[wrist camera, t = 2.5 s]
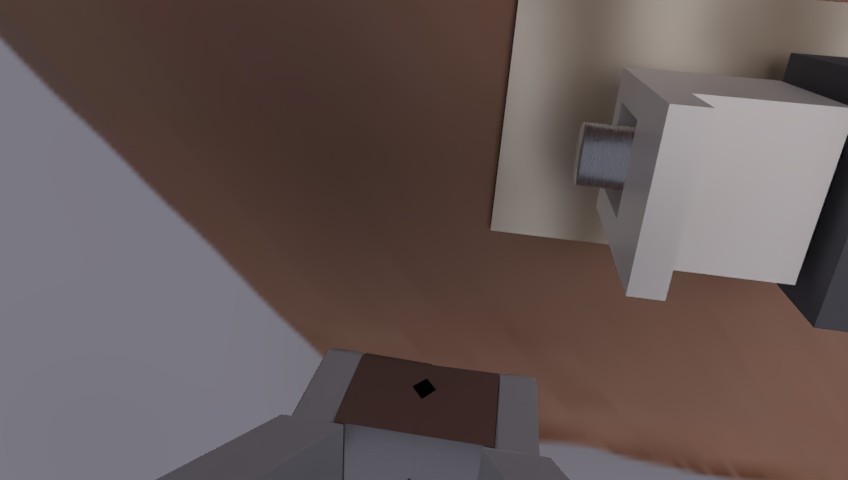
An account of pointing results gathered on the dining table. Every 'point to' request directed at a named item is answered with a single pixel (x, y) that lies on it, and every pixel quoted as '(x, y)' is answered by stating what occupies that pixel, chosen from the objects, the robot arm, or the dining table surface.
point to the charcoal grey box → (843, 215)
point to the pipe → (615, 157)
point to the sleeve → (718, 177)
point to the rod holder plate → (600, 79)
